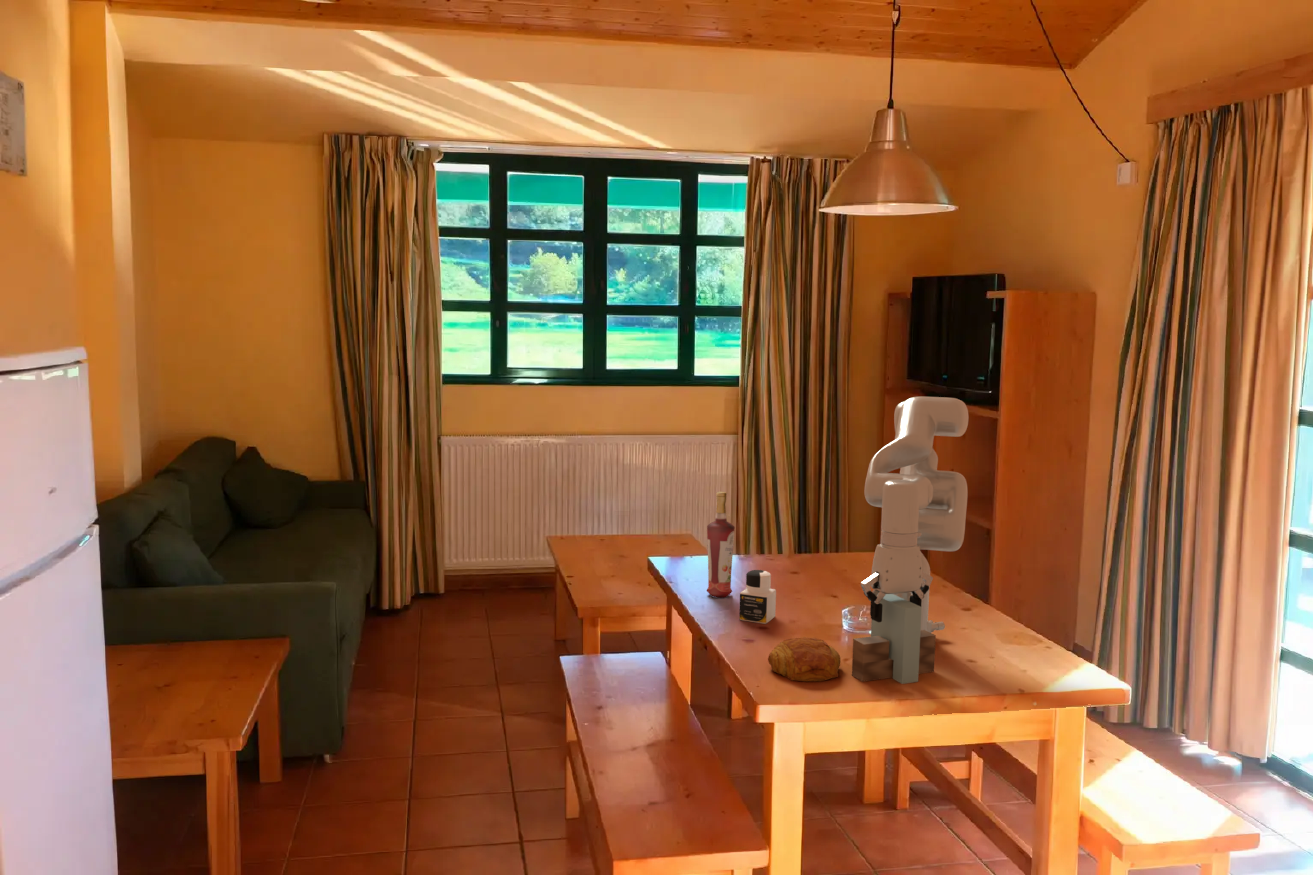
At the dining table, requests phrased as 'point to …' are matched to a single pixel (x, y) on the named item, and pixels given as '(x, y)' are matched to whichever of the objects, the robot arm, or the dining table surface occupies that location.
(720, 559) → the liquor
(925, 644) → the mottled brown block
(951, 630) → the dining table surface
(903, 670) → the plain rectangular block
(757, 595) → the medicine bottle
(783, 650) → the croissant
